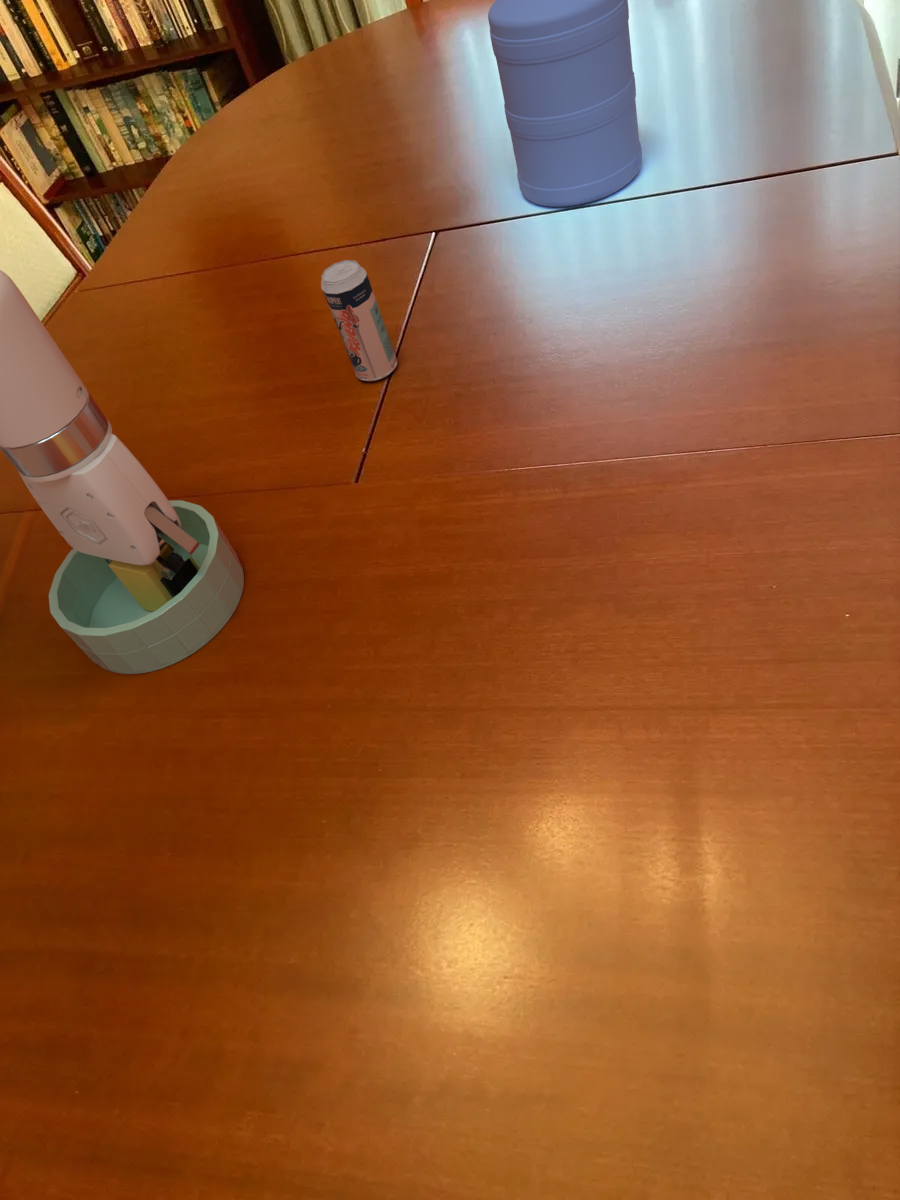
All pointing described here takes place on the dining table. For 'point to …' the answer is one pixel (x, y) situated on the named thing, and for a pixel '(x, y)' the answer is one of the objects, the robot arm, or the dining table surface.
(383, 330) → the beer can
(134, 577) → the sponge
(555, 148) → the water jug
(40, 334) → the robot arm
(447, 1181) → the dining table surface
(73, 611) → the bowl
